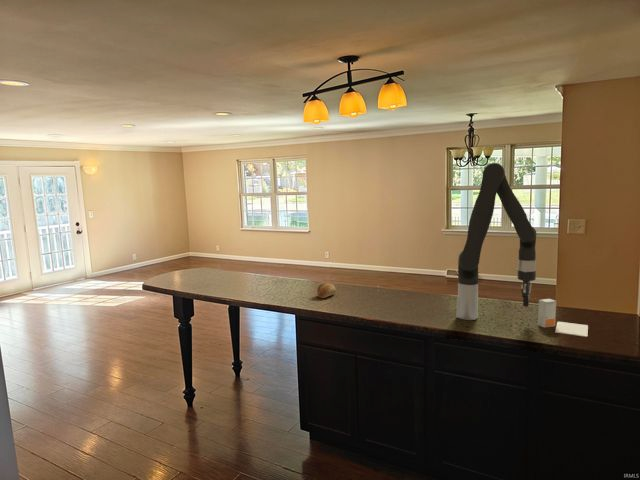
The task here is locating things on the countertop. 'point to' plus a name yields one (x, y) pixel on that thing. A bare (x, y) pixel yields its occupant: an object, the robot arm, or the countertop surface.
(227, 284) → the countertop surface
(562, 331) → the mat
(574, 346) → the countertop surface
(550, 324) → the skincare box
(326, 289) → the bread roll
